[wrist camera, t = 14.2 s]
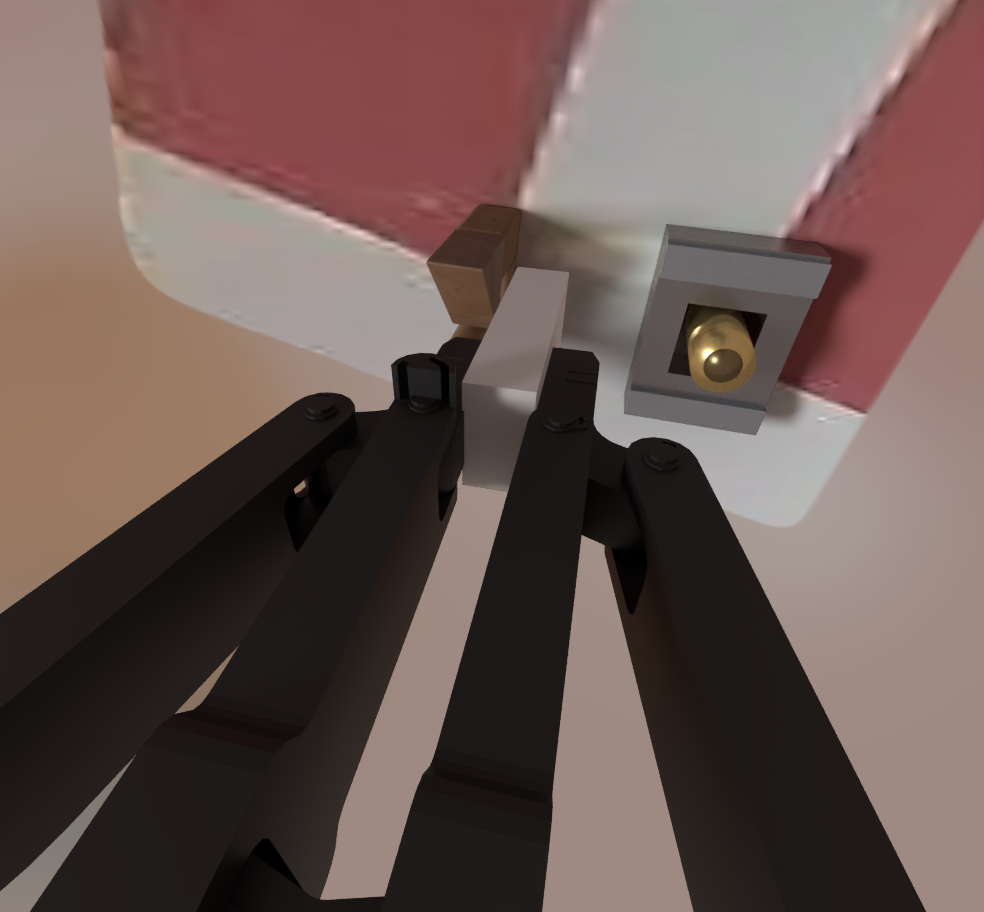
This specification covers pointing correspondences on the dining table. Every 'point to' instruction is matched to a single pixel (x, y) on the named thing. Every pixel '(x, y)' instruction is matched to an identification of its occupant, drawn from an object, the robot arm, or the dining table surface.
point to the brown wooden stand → (477, 267)
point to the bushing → (719, 348)
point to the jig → (732, 285)
